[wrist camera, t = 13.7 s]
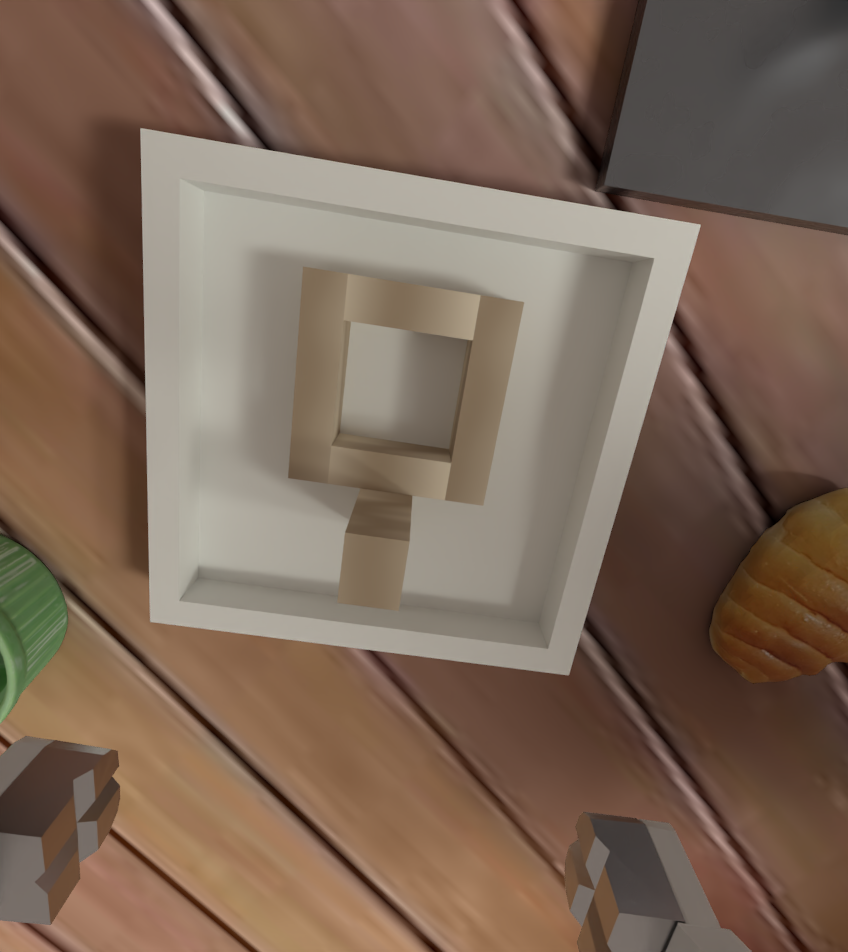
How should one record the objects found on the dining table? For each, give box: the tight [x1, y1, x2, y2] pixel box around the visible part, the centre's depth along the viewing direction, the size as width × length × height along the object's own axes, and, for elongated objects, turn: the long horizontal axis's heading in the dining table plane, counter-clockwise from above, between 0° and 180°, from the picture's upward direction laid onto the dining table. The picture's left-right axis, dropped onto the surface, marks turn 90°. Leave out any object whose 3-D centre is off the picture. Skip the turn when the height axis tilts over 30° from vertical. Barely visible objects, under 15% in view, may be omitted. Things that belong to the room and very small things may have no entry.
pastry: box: [709, 488, 848, 684], centre depth 22 cm, size 9×7×4 cm
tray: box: [140, 128, 701, 675], centre depth 20 cm, size 18×18×2 cm
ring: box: [288, 267, 524, 611], centre depth 18 cm, size 8×10×6 cm
